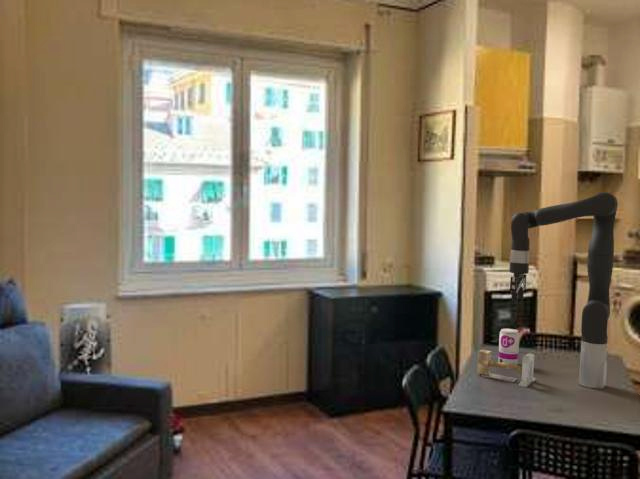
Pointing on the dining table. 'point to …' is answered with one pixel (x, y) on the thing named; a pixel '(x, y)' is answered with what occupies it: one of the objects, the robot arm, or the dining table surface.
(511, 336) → the supplement can
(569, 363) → the dining table surface
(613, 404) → the dining table surface
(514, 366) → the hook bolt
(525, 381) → the white stand
